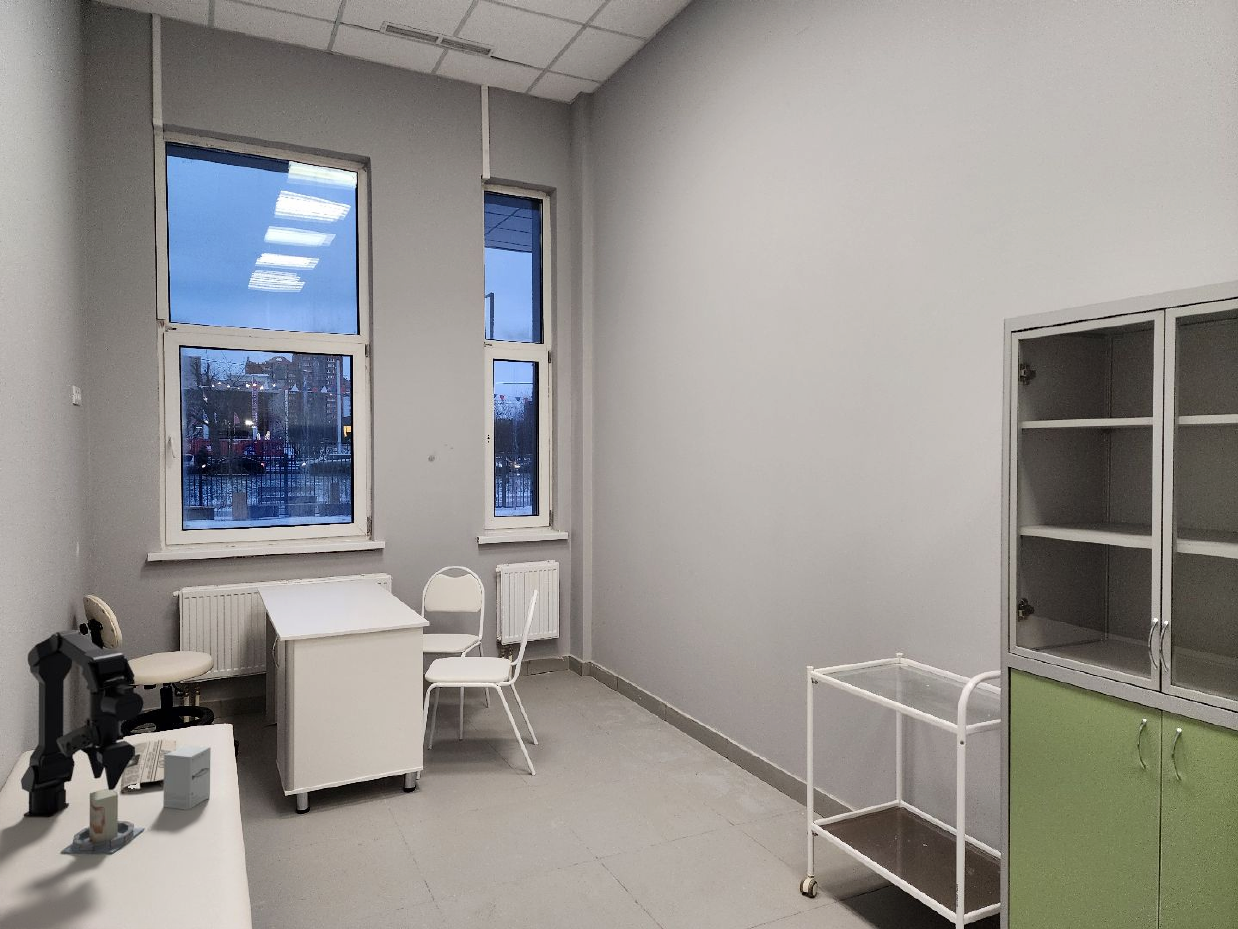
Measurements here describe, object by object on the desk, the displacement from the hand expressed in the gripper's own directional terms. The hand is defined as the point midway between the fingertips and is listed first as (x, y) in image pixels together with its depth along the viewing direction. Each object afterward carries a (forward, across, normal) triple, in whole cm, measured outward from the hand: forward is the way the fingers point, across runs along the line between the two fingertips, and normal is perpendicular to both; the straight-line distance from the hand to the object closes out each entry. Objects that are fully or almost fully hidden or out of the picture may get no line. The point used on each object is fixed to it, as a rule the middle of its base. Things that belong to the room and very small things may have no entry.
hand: (104, 783), depth 172 cm
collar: (+12, 0, 0) cm, 12 cm away
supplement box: (+13, -8, +20) cm, 25 cm away
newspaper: (+13, -39, +22) cm, 47 cm away
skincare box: (+12, 0, 0) cm, 12 cm away
